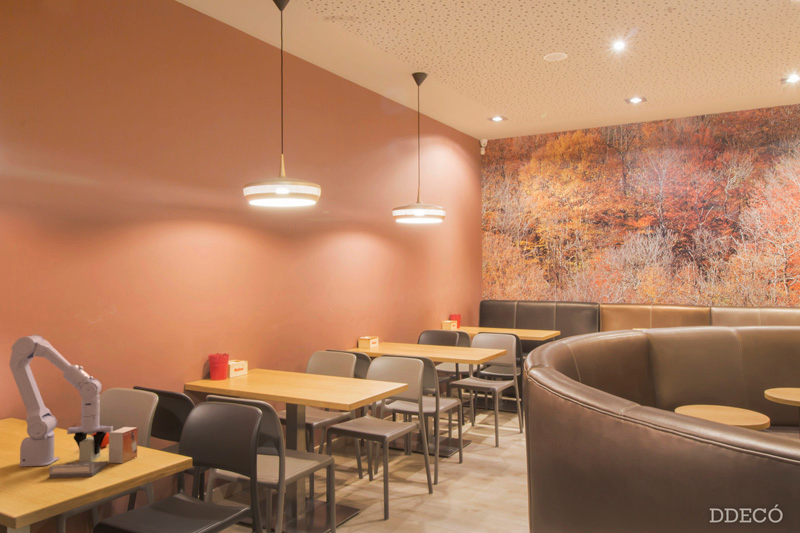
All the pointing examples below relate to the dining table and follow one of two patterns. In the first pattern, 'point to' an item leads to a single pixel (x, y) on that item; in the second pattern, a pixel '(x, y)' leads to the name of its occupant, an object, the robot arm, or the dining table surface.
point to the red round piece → (104, 440)
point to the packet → (87, 450)
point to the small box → (123, 444)
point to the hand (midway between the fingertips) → (90, 453)
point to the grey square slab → (76, 469)
